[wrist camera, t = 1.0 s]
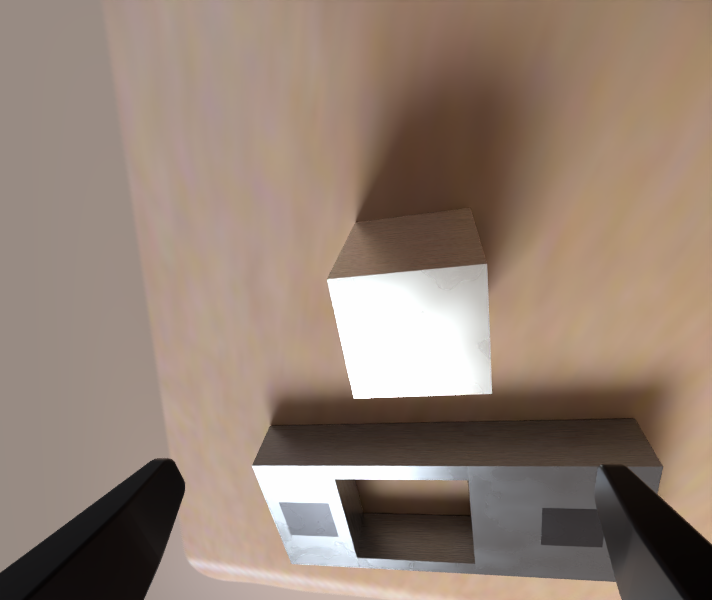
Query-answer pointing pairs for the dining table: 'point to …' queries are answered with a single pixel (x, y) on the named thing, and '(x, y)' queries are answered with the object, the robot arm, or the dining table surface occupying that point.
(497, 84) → the dining table surface
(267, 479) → the grey slotted board
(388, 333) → the block
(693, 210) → the dining table surface
